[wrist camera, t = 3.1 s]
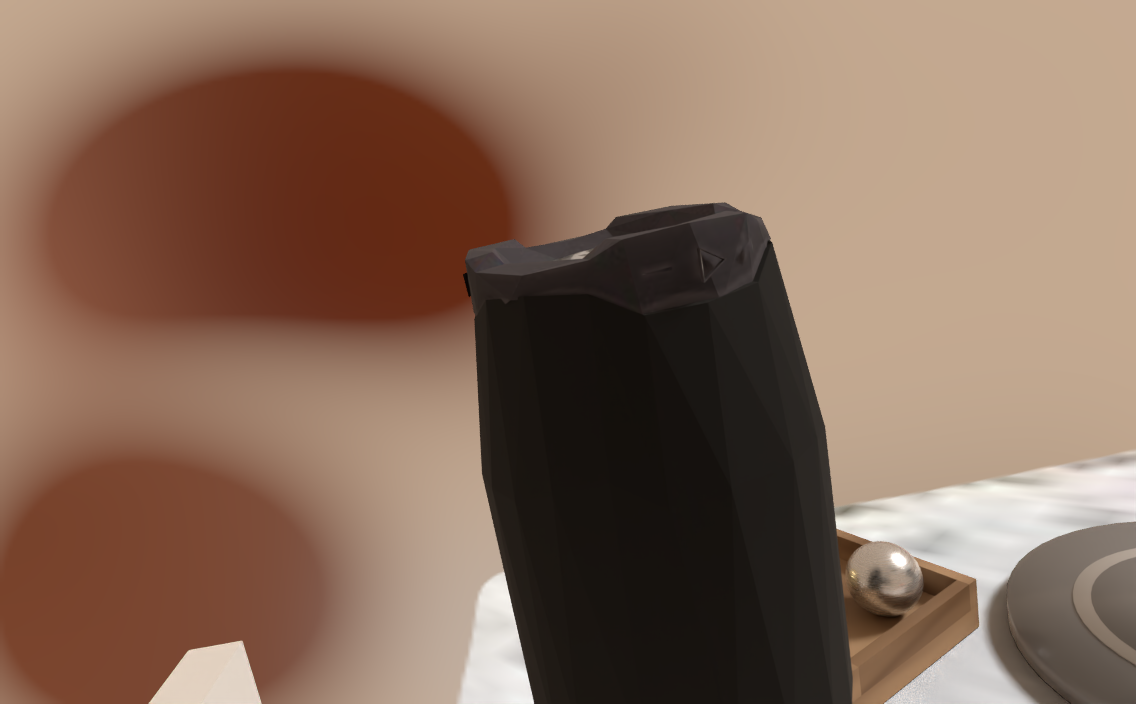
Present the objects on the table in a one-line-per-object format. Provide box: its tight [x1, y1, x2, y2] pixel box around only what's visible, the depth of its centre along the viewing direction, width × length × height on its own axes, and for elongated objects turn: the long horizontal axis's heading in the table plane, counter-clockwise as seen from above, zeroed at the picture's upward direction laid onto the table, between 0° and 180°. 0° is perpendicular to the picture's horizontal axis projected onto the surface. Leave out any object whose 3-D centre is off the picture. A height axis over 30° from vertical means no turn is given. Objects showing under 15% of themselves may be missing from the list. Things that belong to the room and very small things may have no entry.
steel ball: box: [845, 541, 923, 617], centre depth 31 cm, size 3×3×3 cm
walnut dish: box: [836, 529, 979, 704], centre depth 32 cm, size 8×8×2 cm
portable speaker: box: [463, 203, 853, 704], centre depth 21 cm, size 9×9×20 cm
